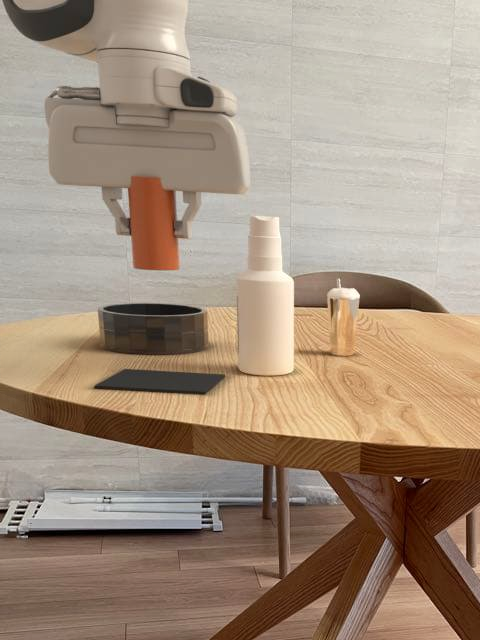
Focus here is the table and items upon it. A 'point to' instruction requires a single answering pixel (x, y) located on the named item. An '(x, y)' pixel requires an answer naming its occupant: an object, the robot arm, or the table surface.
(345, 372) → the table surface
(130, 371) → the mat
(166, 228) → the orange cylinder
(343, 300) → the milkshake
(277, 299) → the spray bottle
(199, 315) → the pot
